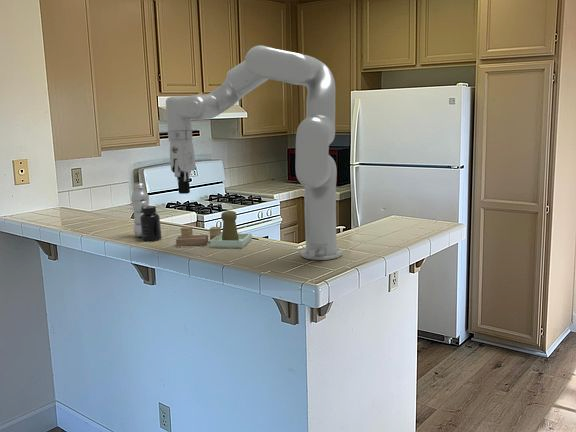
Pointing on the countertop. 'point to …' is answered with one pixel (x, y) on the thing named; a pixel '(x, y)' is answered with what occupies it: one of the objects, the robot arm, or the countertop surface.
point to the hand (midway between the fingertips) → (184, 193)
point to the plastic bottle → (139, 205)
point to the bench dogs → (213, 231)
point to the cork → (229, 226)
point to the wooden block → (192, 240)
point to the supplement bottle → (150, 224)
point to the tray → (242, 242)
